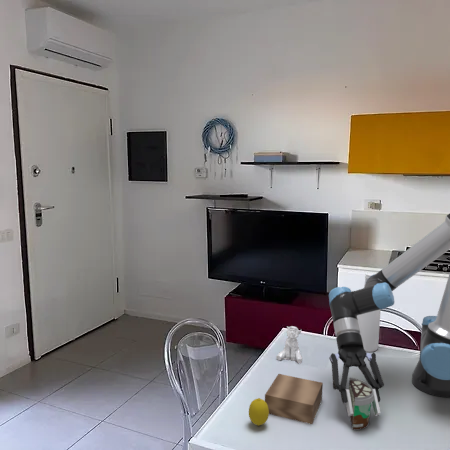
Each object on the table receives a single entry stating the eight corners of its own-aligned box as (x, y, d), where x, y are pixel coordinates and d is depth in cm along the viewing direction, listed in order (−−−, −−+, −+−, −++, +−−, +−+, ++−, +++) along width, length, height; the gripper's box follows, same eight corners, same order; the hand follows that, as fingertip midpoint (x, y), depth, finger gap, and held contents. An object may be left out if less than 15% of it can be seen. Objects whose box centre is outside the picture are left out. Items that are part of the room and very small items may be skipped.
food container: (376, 434, 122) (379, 400, 121) (353, 432, 123) (355, 398, 122) (368, 409, 134) (370, 378, 133) (347, 408, 135) (349, 376, 134)
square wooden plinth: (321, 401, 140) (322, 382, 139) (312, 425, 127) (313, 405, 126) (277, 391, 145) (278, 373, 144) (264, 413, 132) (264, 394, 131)
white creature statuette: (275, 360, 166) (276, 329, 165) (280, 351, 175) (281, 321, 173) (301, 364, 164) (302, 332, 162) (305, 354, 172) (306, 324, 170)
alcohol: (351, 343, 182) (355, 270, 178) (372, 343, 183) (376, 270, 179) (359, 353, 174) (364, 276, 169) (381, 352, 175) (387, 276, 170)
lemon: (254, 433, 122) (254, 405, 121) (245, 422, 127) (245, 395, 126) (272, 428, 125) (272, 401, 123) (262, 418, 130) (263, 391, 128)
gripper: (376, 340, 143) (394, 417, 129) (313, 340, 142) (325, 418, 128) (383, 330, 137) (404, 410, 123) (319, 331, 136) (332, 411, 122)
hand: (364, 414), depth 126 cm, fingers closed on food container, 7 cm apart
